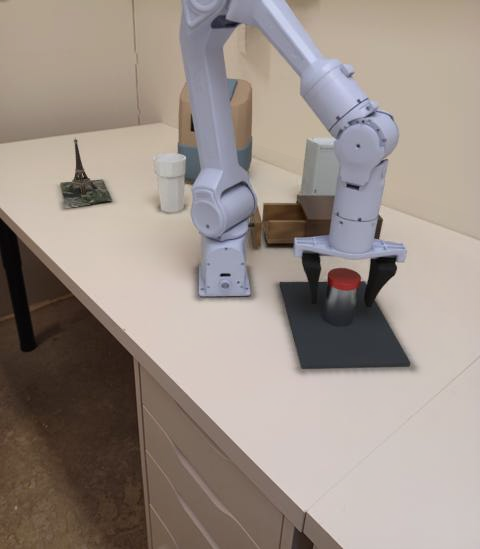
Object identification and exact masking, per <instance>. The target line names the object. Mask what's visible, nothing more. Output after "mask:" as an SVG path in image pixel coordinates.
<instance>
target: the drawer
mask: <svg viewBox="0 0 480 549" xmlns="http://www.w3.org/2000/svg"><path fill="white" fill-rule="evenodd" d="M306 225H307V220H306V218H305V216H304V214H303V212H302V210H301V208H300V205H299V203H296V202H263V204H262V216H261V213H260V208H259V205H258V204H257V209H256V211H255V213H254V214H253V215H252V216H251V217H250V218H249V225H248V228H250V233H251V237H252V242H253V247H261V246H262V232H264V235H265V239H266V242H267V244H294V238H305V234H306Z"/></svg>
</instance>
